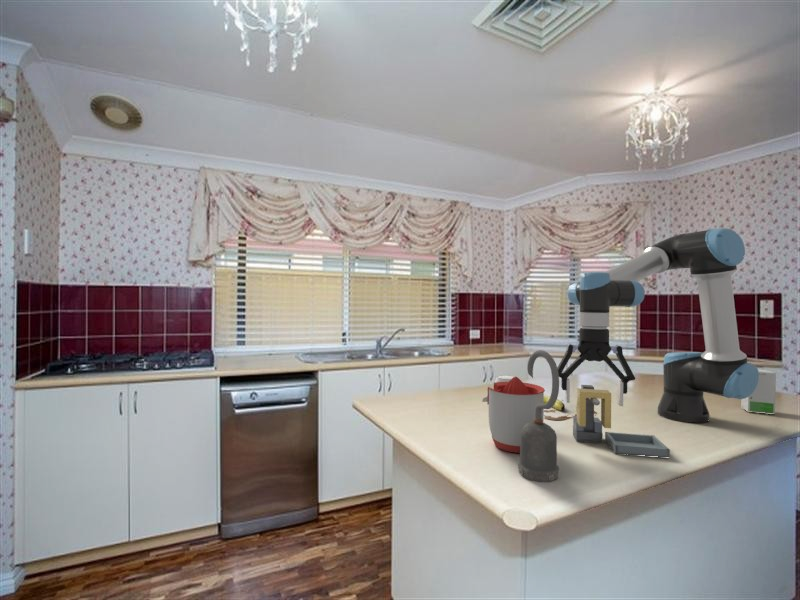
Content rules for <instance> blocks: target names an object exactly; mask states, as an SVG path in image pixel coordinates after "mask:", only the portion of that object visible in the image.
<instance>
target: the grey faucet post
mask: <svg viewBox="0 0 800 600" xmlns="http://www.w3.org/2000/svg"><path fill="white" fill-rule="evenodd" d="M580 389H595V386H593V385H591V384H581V385H580ZM599 405H601V402H600V400H599V398H586V426H579V424H578V423H577V416H575V415H572V421H573V423H572V424H573V425H572V436H573V438H574V440H575V441H576V443H585V444H586V443H587V444H588V443H589V444H601V445H603V437H604V436H603V425H602V424H601V418H599V417H595V413H594V411H595V406H599Z"/></svg>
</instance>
